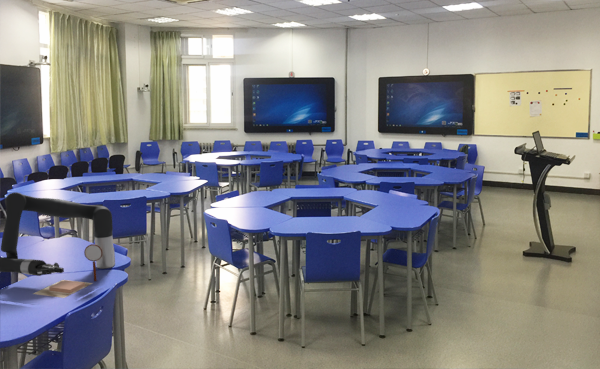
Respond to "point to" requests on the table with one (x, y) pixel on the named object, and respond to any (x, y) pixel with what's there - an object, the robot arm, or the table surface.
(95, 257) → the magnifying glass
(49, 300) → the table surface
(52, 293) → the board
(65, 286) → the tile
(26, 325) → the table surface
